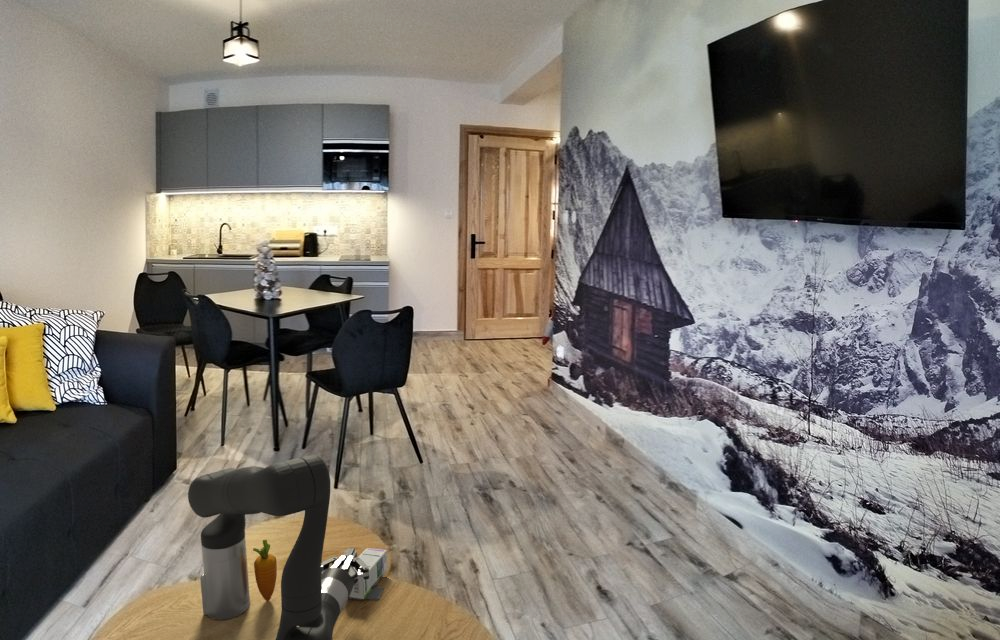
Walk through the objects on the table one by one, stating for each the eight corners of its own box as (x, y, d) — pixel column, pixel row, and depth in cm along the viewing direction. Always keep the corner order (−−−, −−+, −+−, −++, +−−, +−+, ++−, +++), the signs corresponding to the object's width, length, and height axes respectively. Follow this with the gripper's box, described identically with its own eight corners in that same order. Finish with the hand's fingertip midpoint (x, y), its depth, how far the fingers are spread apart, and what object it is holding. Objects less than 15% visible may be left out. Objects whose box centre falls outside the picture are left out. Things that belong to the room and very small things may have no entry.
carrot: (269, 609, 150) (265, 549, 148) (252, 604, 152) (247, 545, 149) (283, 597, 155) (279, 538, 152) (266, 593, 156) (262, 535, 154)
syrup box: (363, 576, 152) (388, 549, 166) (340, 573, 153) (367, 546, 167) (363, 599, 153) (388, 570, 167) (340, 596, 154) (367, 568, 168)
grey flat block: (343, 599, 154) (343, 597, 154) (349, 588, 158) (348, 586, 158) (379, 599, 154) (379, 598, 154) (383, 588, 158) (383, 587, 158)
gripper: (360, 579, 134) (379, 537, 151) (297, 578, 135) (323, 536, 152) (362, 612, 136) (380, 566, 153) (299, 610, 136) (324, 565, 153)
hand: (351, 551), depth 152 cm, fingers closed
